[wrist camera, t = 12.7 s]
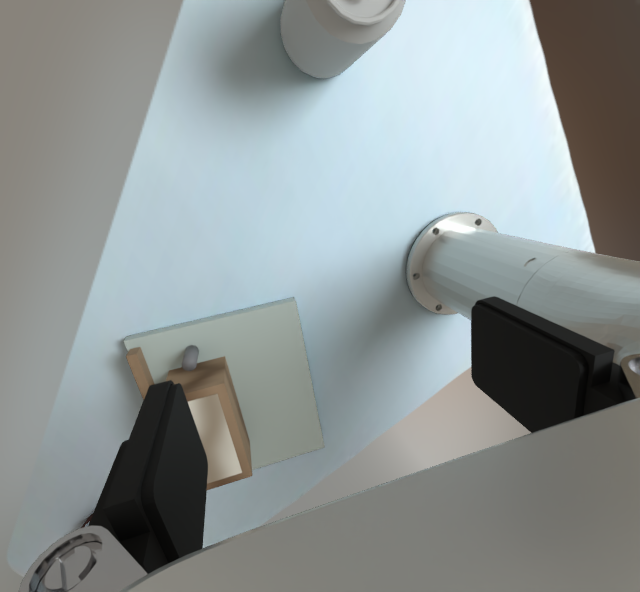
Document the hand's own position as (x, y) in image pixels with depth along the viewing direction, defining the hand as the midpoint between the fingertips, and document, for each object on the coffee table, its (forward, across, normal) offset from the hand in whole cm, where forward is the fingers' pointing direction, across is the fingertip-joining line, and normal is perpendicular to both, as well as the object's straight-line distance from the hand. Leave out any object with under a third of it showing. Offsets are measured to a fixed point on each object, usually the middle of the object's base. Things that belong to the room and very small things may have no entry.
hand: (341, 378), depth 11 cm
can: (+28, -9, -17) cm, 34 cm away
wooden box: (+27, +10, +18) cm, 34 cm away
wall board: (+28, +7, +18) cm, 34 cm away
